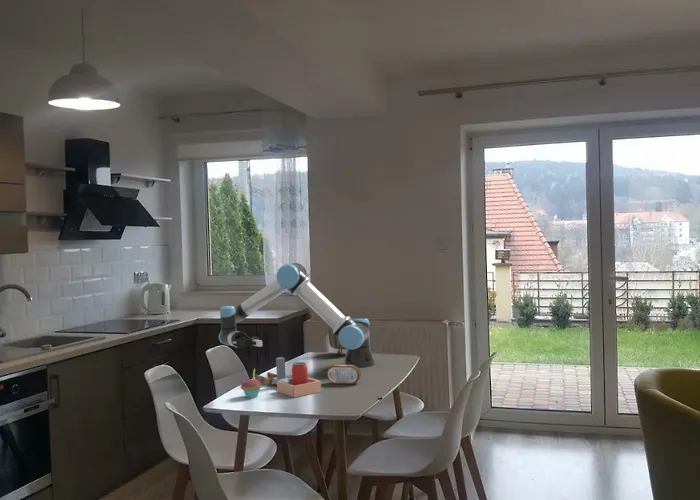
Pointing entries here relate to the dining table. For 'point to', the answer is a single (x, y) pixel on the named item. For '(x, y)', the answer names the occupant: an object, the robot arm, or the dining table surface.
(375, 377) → the dining table surface
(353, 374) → the tin
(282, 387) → the cup corral
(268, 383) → the launcher rail
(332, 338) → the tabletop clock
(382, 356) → the dining table surface
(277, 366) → the grey post stand
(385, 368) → the dining table surface
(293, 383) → the beer can
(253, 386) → the cupcake
